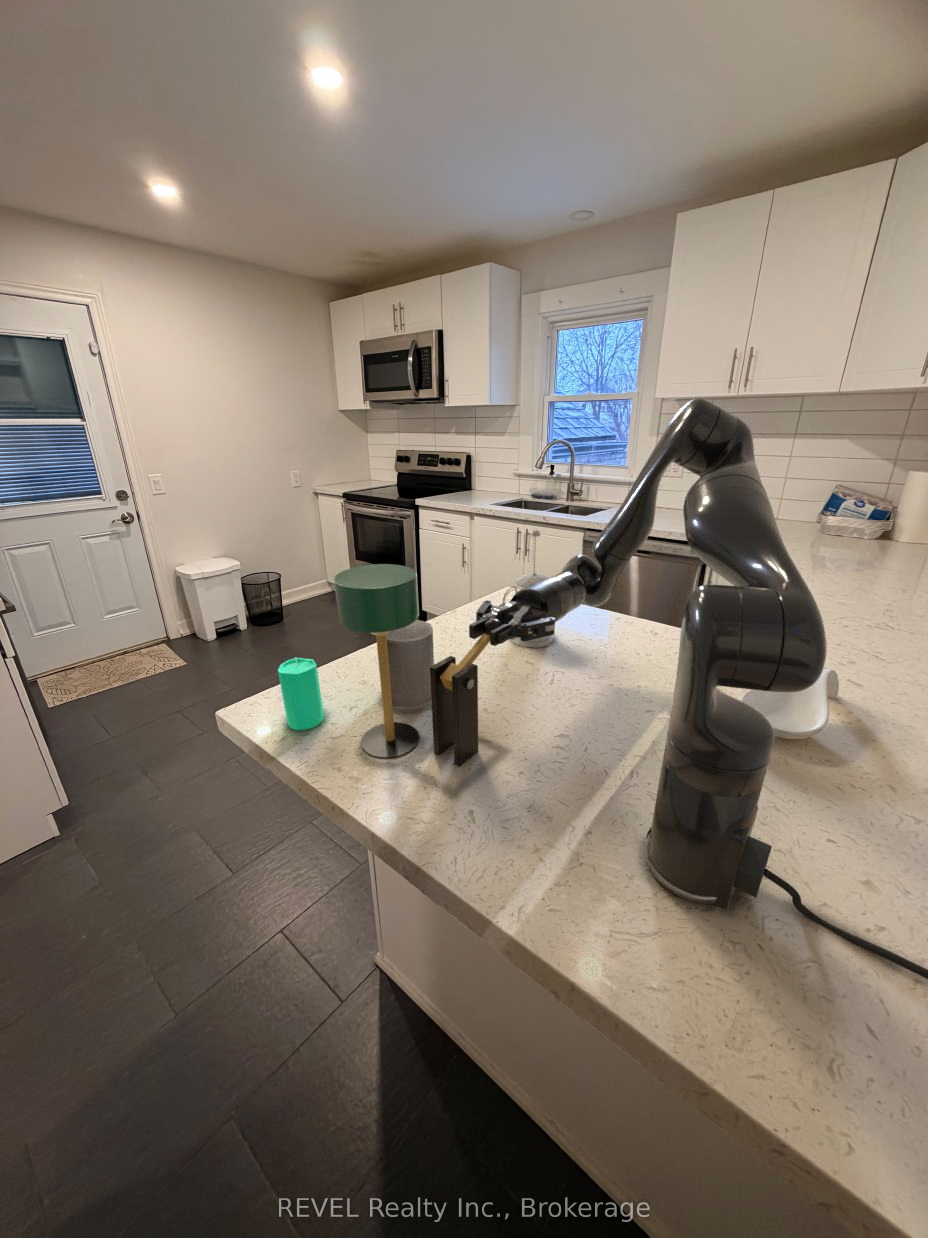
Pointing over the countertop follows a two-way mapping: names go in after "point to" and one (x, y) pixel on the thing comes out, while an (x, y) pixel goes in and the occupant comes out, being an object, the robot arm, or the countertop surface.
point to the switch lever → (470, 653)
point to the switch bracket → (455, 711)
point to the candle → (301, 693)
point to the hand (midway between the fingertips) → (481, 635)
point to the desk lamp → (380, 638)
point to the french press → (525, 582)
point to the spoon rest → (796, 707)
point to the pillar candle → (410, 663)
